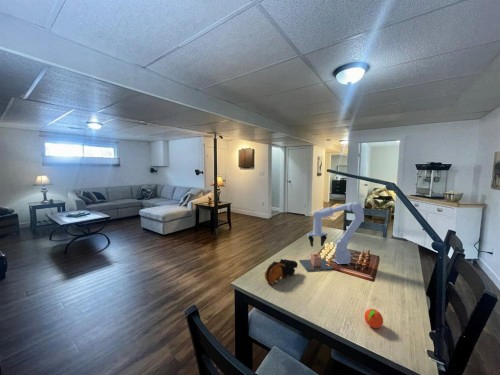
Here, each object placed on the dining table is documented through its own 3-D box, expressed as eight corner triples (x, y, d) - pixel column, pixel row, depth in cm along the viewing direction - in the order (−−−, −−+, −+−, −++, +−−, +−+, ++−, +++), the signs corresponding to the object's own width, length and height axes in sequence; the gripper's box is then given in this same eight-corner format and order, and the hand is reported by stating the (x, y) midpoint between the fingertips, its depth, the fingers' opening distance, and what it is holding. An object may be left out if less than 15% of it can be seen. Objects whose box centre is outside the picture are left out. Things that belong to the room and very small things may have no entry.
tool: (294, 287, 131) (301, 263, 133) (269, 286, 117) (277, 259, 119) (284, 281, 138) (291, 258, 139) (259, 280, 124) (267, 254, 125)
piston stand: (323, 259, 153) (323, 253, 152) (333, 269, 139) (333, 262, 138) (299, 261, 150) (299, 254, 150) (307, 271, 136) (307, 264, 136)
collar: (317, 262, 147) (317, 253, 146) (321, 265, 142) (321, 256, 141) (310, 262, 146) (311, 254, 146) (313, 266, 141) (314, 257, 141)
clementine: (376, 336, 86) (377, 319, 85) (359, 325, 91) (360, 310, 90) (385, 327, 90) (386, 311, 89) (368, 317, 96) (369, 302, 95)
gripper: (310, 229, 147) (309, 248, 149) (329, 228, 149) (329, 247, 151) (306, 226, 154) (305, 244, 156) (325, 225, 156) (324, 243, 158)
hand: (316, 245), depth 154 cm, fingers open, 7 cm apart
